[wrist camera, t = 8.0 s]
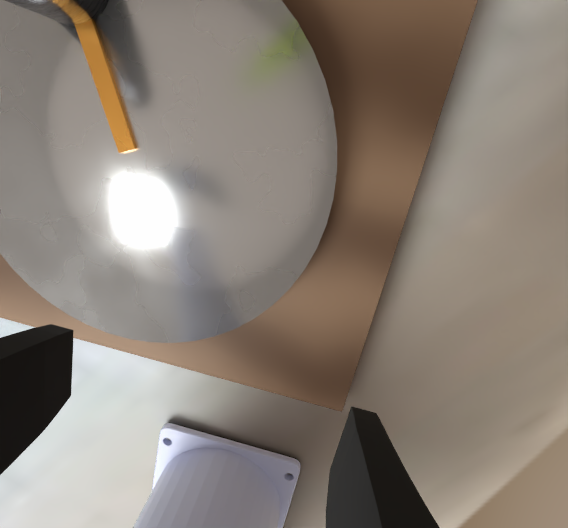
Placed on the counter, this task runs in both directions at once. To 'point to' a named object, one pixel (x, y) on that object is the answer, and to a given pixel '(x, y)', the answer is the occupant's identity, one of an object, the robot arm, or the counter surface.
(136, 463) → the counter surface
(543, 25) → the counter surface
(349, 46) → the dial base
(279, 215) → the dial
